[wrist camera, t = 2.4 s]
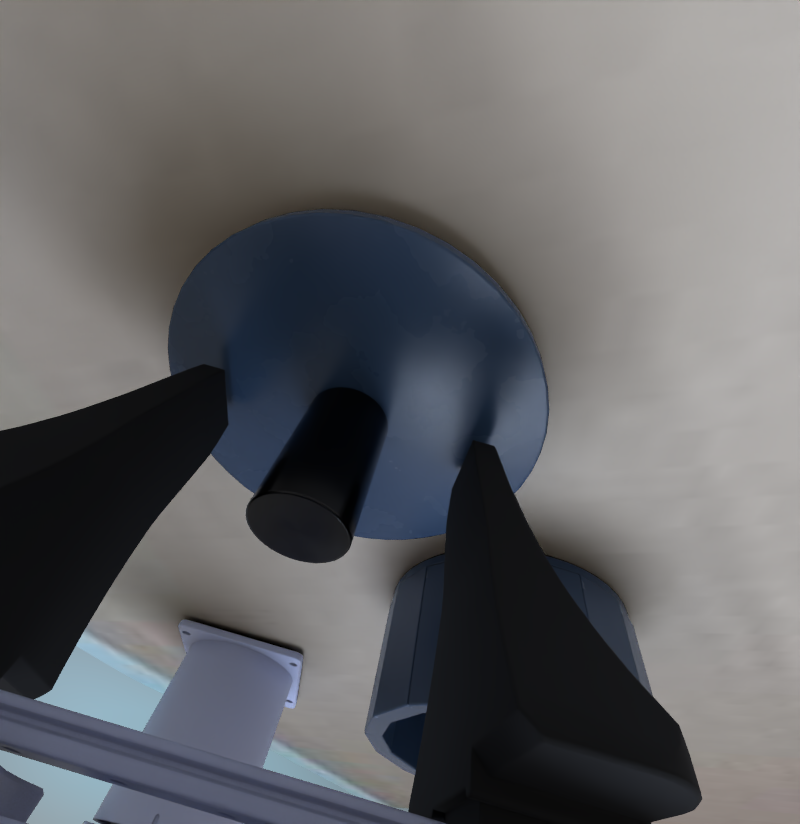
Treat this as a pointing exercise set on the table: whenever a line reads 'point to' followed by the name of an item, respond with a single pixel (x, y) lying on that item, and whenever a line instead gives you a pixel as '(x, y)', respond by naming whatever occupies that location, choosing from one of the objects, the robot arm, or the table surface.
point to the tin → (417, 641)
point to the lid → (357, 375)
